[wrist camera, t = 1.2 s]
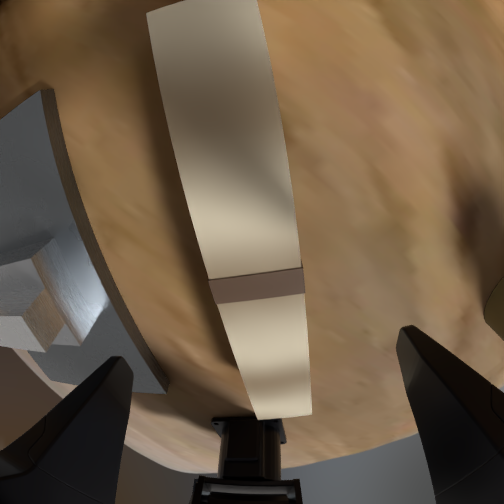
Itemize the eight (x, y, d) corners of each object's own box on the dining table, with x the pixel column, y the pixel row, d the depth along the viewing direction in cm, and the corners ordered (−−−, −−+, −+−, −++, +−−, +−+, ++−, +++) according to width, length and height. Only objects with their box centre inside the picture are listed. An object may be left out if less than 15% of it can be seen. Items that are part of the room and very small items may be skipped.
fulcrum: (169, 382, 20) (153, 446, 15) (55, 372, 22) (32, 415, 17) (53, 89, 10) (-31, 99, 5) (-46, 170, 12) (-95, 198, 6)
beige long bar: (307, 373, 19) (312, 415, 16) (258, 378, 20) (256, 420, 17) (256, 17, 9) (254, -15, 6) (174, 35, 9) (144, 13, 6)
